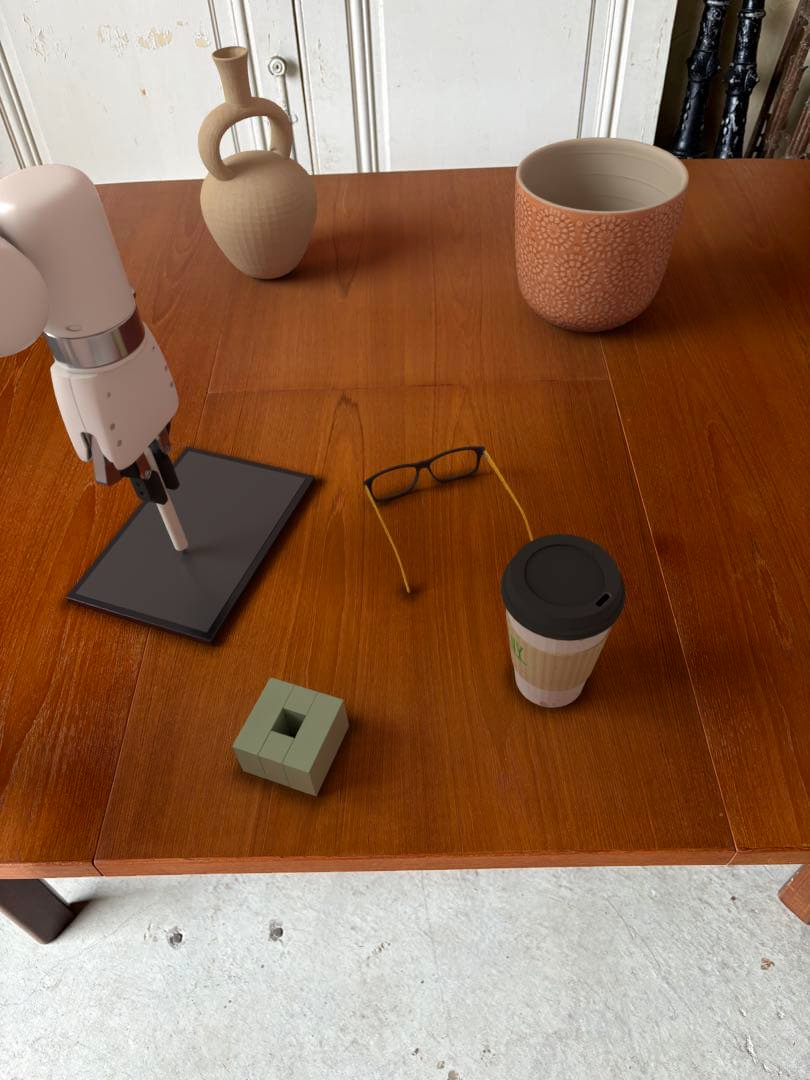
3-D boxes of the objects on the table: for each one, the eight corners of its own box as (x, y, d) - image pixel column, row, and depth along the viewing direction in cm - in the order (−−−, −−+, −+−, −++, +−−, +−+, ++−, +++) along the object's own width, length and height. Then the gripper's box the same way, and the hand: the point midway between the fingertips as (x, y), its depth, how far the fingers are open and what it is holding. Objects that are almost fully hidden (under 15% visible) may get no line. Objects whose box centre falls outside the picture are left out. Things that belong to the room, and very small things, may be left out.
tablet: (68, 602, 83) (64, 596, 83) (188, 451, 98) (186, 445, 97) (212, 646, 79) (210, 640, 78) (316, 481, 93) (314, 475, 93)
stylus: (174, 554, 85) (132, 455, 75) (181, 544, 86) (141, 445, 76) (185, 557, 85) (145, 458, 75) (192, 547, 86) (153, 448, 75)
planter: (690, 329, 109) (725, 189, 95) (550, 368, 105) (564, 228, 91) (612, 257, 122) (632, 124, 108) (485, 288, 118) (488, 155, 104)
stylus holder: (242, 771, 70) (231, 746, 67) (279, 703, 74) (270, 676, 71) (316, 796, 68) (308, 772, 65) (349, 725, 72) (343, 699, 69)
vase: (254, 310, 118) (205, 87, 95) (198, 267, 127) (142, 53, 104) (347, 268, 124) (322, 49, 102) (287, 230, 133) (252, 21, 111)
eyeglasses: (480, 465, 94) (480, 439, 91) (536, 553, 84) (539, 527, 81) (363, 500, 91) (359, 474, 88) (408, 595, 82) (406, 569, 79)
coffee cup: (541, 616, 79) (554, 509, 68) (626, 676, 74) (655, 572, 63) (473, 679, 75) (475, 576, 64) (558, 747, 70) (576, 649, 59)
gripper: (111, 274, 71) (169, 434, 85) (-6, 380, 62) (80, 540, 75) (185, 287, 69) (231, 448, 83) (75, 398, 60) (148, 560, 73)
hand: (159, 491), depth 79 cm, fingers closed on stylus, 1 cm apart
